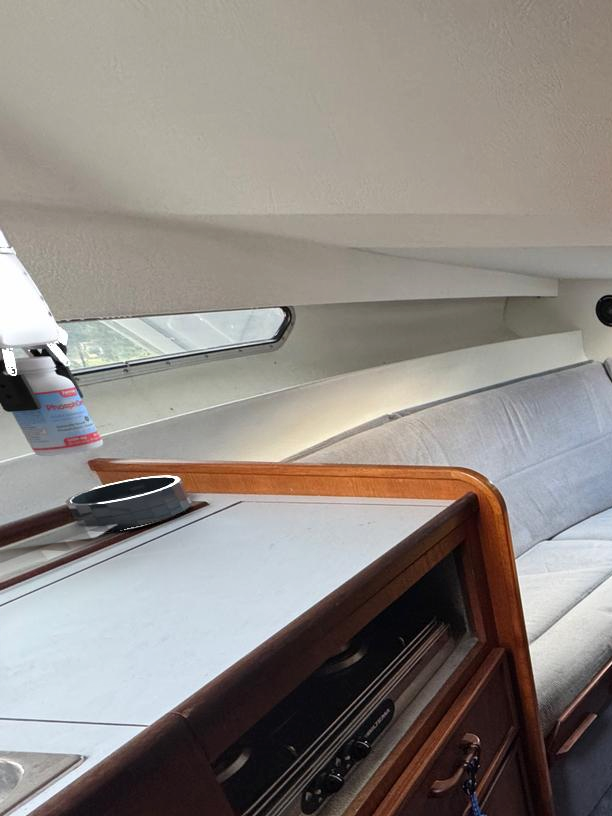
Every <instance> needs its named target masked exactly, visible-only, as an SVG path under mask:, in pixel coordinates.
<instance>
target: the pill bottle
mask: <svg viewBox="0 0 612 816" xmlns="http://www.w3.org/2000/svg"><path fill="white" fill-rule="evenodd" d="M14 360H15V365H16V370H17V374H16V375H21V374H24V376H25V377H26V379H27V381H28V383H29V384H30V386H31V388H32V390H33V392H34V394H35V395H36V397H37V399H38V401H39V403H40V405H41V409H38V410H30V411H16V412H11V414H12V416H13V417H14V419H15V422H16V423H17V425H18V426H19V428H20V431H21V432H22V434H23V435H24V437H25V439H26V440H27V443H28V444H29V446H30V448H31V449H32V451H33V453H34V454H35V455H38V456H39V457H55V456H64V455H74V454H79V453H84V452H88V451H92V450H95V449H98V448H100V447H101V446H103V445H104V441H103V438H102V436H101V435H100V433H99V431H98V428H97V427H96V425H95V423H94V421H93V419H92V417H91V415H90V413H89V412H88V409H87V407H86V405H85V404H84V402H83V398H80V396H79V394H78V392H77V390H76V388H75V386H74V384H73V383H72V381H71V380H69V379H68V378H66V377H63V376H60V375H57V374H56V372H55V370H56V368H55V366H56V365H55V364H54V362H53V360H52V358H51V357H29V356H26V357H14Z"/></svg>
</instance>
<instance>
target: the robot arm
mask: <svg viewBox="0 0 612 816" xmlns="http://www.w3.org/2000/svg"><path fill="white" fill-rule="evenodd" d="M16 254H17V253H16V251H15V248H14V246H13V244H12V242H11V241H10V238H9V236H8V235H7V232H6V231H5V229H4V227H3V225H2V222H0V406H1V408H2V409H3V410H4V412H7V413H12V412H16V411H30V410H38V409H41V405H40V403H39V401H38V399H37V397H36V395H35V394H34V392H33V390H32V388H31V386H30V384H29V383H28V381H27V379H26V377H25V376H24V374H21V375H16V374H17V370H16V365H15V360H14V358H15V357H14V351H13V349H22V351H23V353H25V354H26V356H27V357H51V358H52V360H53V362H54V364H55V365H56V366H55V368H56V370H55V372H56V374H57V375H60V376H63V377H66V378H68V379H69V380H71V381H72V383H73V384H74V386H75V388H76V390H77V392H78V394H79V396H80V398H81V399H83V398H84V394H83V392H82V391H81V388H80V387H79V384H78V382H77V381H76V379H75V377H74V375H73V373H72V371H71V369H70V367H69V366H70V365H71V362H70V360H69V358H68V357H67V352H68V348H67V342H68V337H69V336H68V333H67V332H66V331H65V330H64V329H63V328H62V327H60V326H59V325H58V323H57V321H56V319H55V317H54V315H53V314H52V311H51V310H50V307H49V305H48V303H47V302H46V301H45V299H44V297H43V294H42V293H41V292H40V290H39V288H38V287H37V285H36V284H35V282H34V281H33V278H32V276H30V274H29V273H28V271H27V270H26V268H25V267H24V265H23V264H22V262H21V261H20V259H19V258H18V257H17V256H16ZM40 350H41V352H40Z"/></svg>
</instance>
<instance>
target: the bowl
mask: <svg viewBox="0 0 612 816" xmlns="http://www.w3.org/2000/svg"><path fill="white" fill-rule="evenodd" d="M189 495H190V494H189V493H188V491H187V489H186V488H185V485H184V483H183V481H182V478H180V477H178V476H174V475H155V476H147V477H140V478H133V479H126V480H122V481H117V482H113V483H108V484H105V485H101V486H97V487H94V488H90V489H87V490H84V491H81V492H78V493H76V494H74V495H72V496H70V497H68V498H67V499H66V500H65V502H64V503H65V504H66V506H67V508H68V509H69V511H70V513H71V514H72V516H73V518H74V519H75V521H76V523H77V524H78V526H82V527H106V526H112V527H111V528H109V529H106V530H105V531H104V532H103V534H111V533H119V532H118V531H120V530H124V529H127V528H131V527H136V526H141V525H145V524H149V523H152V522H156V521H159V520H162V519H165V518H168V517H171V516H174V515H176V514H178V513H181V512H183V511H184V512H186V510H188V509H189V508H190V507H191V506H192V504H193V502H192V500H191V497H190V496H189ZM184 512H183V513H184ZM113 525H114V526H113Z"/></svg>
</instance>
